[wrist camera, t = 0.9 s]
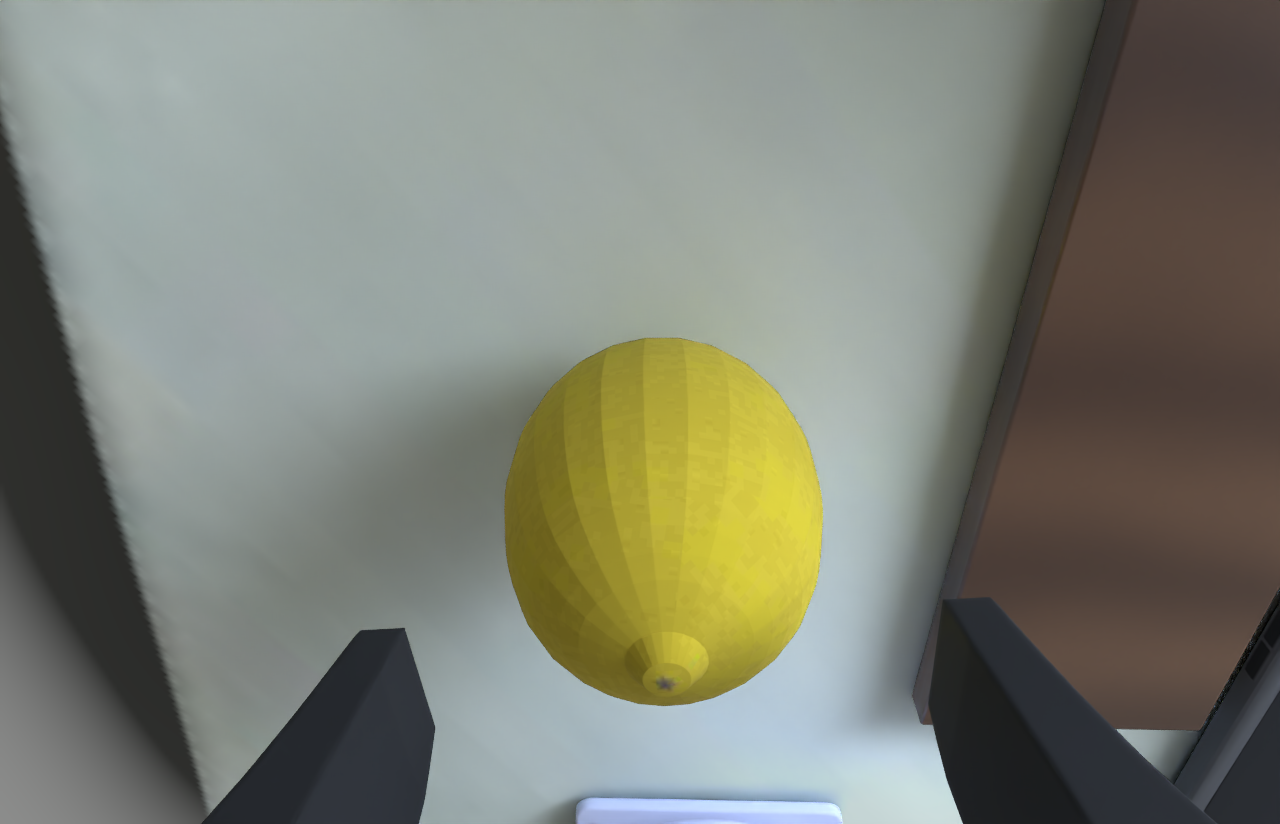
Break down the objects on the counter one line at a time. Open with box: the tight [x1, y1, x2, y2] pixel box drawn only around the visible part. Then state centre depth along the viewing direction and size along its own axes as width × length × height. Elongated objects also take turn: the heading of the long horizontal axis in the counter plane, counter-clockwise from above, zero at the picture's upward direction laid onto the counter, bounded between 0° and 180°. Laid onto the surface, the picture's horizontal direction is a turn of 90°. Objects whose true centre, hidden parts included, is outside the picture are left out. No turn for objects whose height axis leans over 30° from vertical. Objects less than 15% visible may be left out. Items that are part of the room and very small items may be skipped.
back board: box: [912, 0, 1280, 731], centre depth 18 cm, size 20×8×1 cm, turn 179°
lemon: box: [504, 338, 823, 706], centre depth 15 cm, size 6×6×8 cm
